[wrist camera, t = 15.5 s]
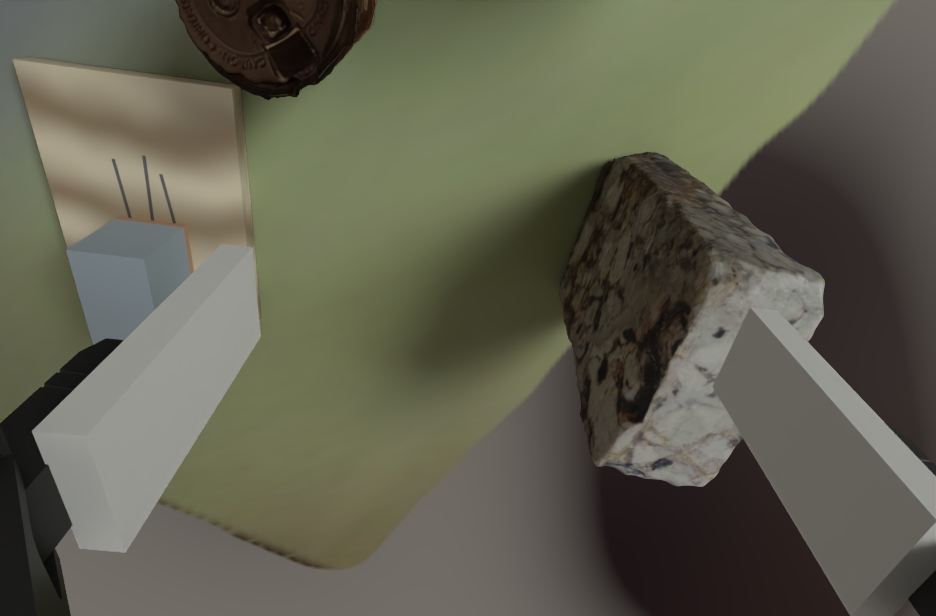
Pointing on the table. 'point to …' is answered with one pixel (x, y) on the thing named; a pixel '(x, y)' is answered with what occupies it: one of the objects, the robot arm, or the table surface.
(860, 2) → the table surface
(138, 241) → the block
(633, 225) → the stone block
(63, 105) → the board
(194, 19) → the coffee cup
